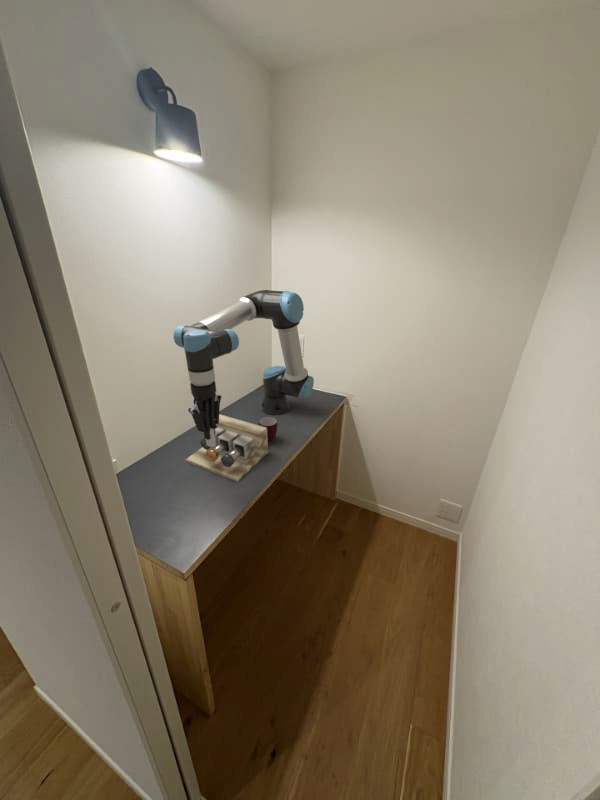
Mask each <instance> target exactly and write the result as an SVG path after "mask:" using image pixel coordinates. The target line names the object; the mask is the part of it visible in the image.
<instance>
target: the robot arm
mask: <svg viewBox="0 0 600 800" xmlns="http://www.w3.org/2000/svg"><path fill="white" fill-rule="evenodd" d="M304 307H305V306H304V301H303V299H302V297H301V296H300V295H299V294H298V293H296V292H294V291H289V290H284V291H281V290H269V289H262V290H258V291H254V292H251V293H249V294H247V295H244V296H242V297H240V298H239V299H238V300H237V302H236V303H234V304H233V305H230V306H228V307H227V308H224V309H221V310H220V311H218V312H216V313H214V314H212V315H210V316H208V317H206V318H204V319H202V320H200V321H198V322H196V323H194V324H192V325H179V326H177V327H175V328H174V329H175V330H173V341H174V343H175V345H177V347H180V348H183V350H184V354H185V360H186V367H187V370H188V371H187V373H188V379H189V383H190V385H189V386H190V392H191V395H192V396H193V405H192V407H189V408H188V412H189V413H190V414H191V416H192V419H193V422H194V424H195V426H196V428H197V430H198V431H199V432H200V433H203V437H204V438H205V439H206V443H207V446H210V447H214V446H216V443H215V429H216V428H217V426H215V425H216V424H218V423H219V414H220V409H221V408H220V407H221V406H220V405H221V400H222V395H220V394H216V392H217V386H216V381H215V380H216V374H215V368H214V359H215V360H216V359H217V358H220V357H222V356H225V355H228V354H231V353H232V352H235V351H236V350H237V349H238V348H239V345H240V339H239V336H238V334H237V333H236V332H235V330H233V328H235V327H238V326H239V325H240V324H242V323H244V322H249V321H253V320H254V319H265V320H271V321H272V322H271V323H272V326H273V328H274V329H276V330H277V332H278V337H279V343H280V347H281V348H280V349H281V351H282V352H281V354H282V357H283V361H284V366H283V365H282V366H281V365H275V366H270V367H267V368H265V369H264V370H263V372H262V376H263V377H262V381H263V382H262V383H263V399H262V401H261V406H260V407H261V411H262V413H265V415H271V416H278V415H283V414H286V413H288V412H289V411H290V402H289V400H288V396H290V397H294V398H297V399H305V400H306V399H307V398H309V397H310V395H311V393H312V391H313V387H314V383H315V379H314V377H313V376H311V375H309V371H308V370H307V368H306V367H304V360H303V354H302V348H301V343H300V335H299V330H298V329H299V328H298V325H300V322H301V320H302V319H303V317H304V310H305V308H304ZM215 419H216V420H215Z"/></svg>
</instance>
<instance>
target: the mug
mask: <svg viewBox="0 0 600 800" xmlns="http://www.w3.org/2000/svg"><path fill="white" fill-rule="evenodd" d="M258 425H259V426H263V427H266V428H267V439H268V444H272V443H273V442H274V440H275V439H276V436H277V431H278V420H277V418H275V417H273V416H266V417H265V416H264V417H262V418H260V419H259V421H258Z"/></svg>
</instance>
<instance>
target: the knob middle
mask: <svg viewBox="0 0 600 800" xmlns="http://www.w3.org/2000/svg"><path fill="white" fill-rule="evenodd" d="M228 448H229V445H228V443H227V442H225V441H222V442H221V443H220V444H218V445H217V446H216V447H215V448H213V449H209V450H208V451H207V452H206V457H207V458H208V459H209V460H210V461H212V462H214V461H215V460H217V459H218V456H219V455H220V454H222V453H223V452H224V451H225V450H227V449H228Z"/></svg>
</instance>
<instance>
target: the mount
mask: <svg viewBox="0 0 600 800" xmlns="http://www.w3.org/2000/svg"><path fill="white" fill-rule="evenodd" d="M215 420H216V419H215ZM215 426H217V428H216V429H215V443H216V446H217V445H218V444H220V443H221V442H222V441H225V442H227V443H228V445H229V448H228V449H227V450H225V451H224V452H223V453H222V454H220V455H219V456H218V459H217V460H215V461H214V462H212V461H210V460H209V459H208V458H207V457H206V452H207V451H208V450H209V449H213V448H215V447H216V446H214V447H211V448H209V449H208V450H206V449H204V448H203V447H202V446H201V448H199V449H198V450H196V451H195V452H194V453H192V454H191V455H190V456H188V457H186V459H185V462H186V463H188V464H191V465H194V466H196V467H199V468H201V469H204V470H206V471H209V472H212V473H214V474H217V475H219V476H221V477H225V478H227V479H230V480H232V481H235V482H239V481H240V480H242V478H243V477H245V475H246V474H248V473H249V471H251V470H252V469H253V468H254V467H255V465H257V464H259V462H260V461H261V460H262V459H263V458H264V457H265V456H266V455H267V454H269V446H268V445H269V443H268V439H267V428H266V427H263V426H259V424H255V423H251V422H249V421H245V420H241V419H237V418H233V417H230V416H227V415H224V414H220V413H219V423H218V424H216V425H215ZM237 446H241V447H242V448H243V450H244V453H243V454H242V455H241V456H240V457H239V458H237V459H236V460H235V461H234V464H233V465H232V466H231V467H226V466H224V465H223V463H222V461H221V458H222V457H223V456H224V455H225V454H229V453H230V452H231V451H232V450H234V449H235V448H236V447H237Z"/></svg>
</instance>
